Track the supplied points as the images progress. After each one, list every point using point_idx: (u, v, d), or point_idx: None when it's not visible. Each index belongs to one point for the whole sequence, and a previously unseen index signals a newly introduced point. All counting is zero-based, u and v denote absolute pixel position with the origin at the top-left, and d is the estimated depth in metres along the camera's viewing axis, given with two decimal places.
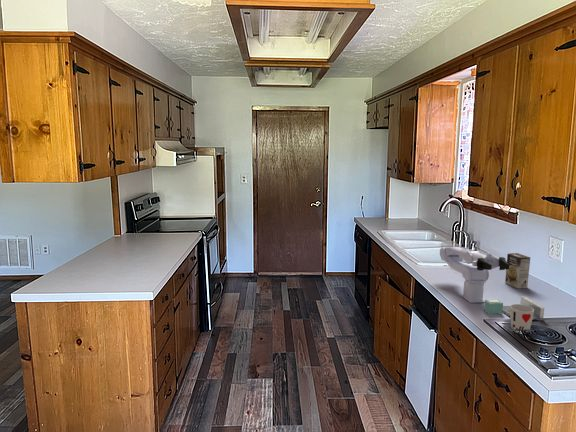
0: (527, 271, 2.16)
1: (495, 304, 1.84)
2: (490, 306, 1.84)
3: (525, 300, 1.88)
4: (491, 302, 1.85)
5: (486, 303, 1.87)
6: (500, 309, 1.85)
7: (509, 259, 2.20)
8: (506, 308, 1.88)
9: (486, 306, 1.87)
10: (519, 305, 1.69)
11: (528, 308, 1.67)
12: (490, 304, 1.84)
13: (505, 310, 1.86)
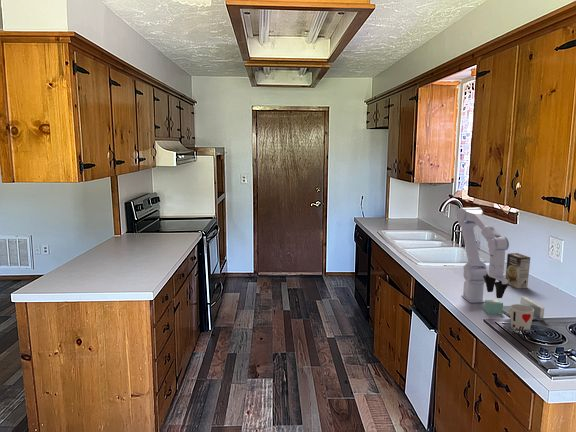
0: (527, 271, 2.16)
1: (495, 304, 1.84)
2: (490, 306, 1.84)
3: (525, 300, 1.88)
4: (491, 302, 1.85)
5: (486, 303, 1.87)
6: (500, 309, 1.85)
7: (509, 259, 2.20)
8: (506, 308, 1.88)
9: (486, 306, 1.87)
10: (519, 305, 1.69)
11: (528, 308, 1.67)
12: (490, 304, 1.84)
13: (505, 310, 1.86)
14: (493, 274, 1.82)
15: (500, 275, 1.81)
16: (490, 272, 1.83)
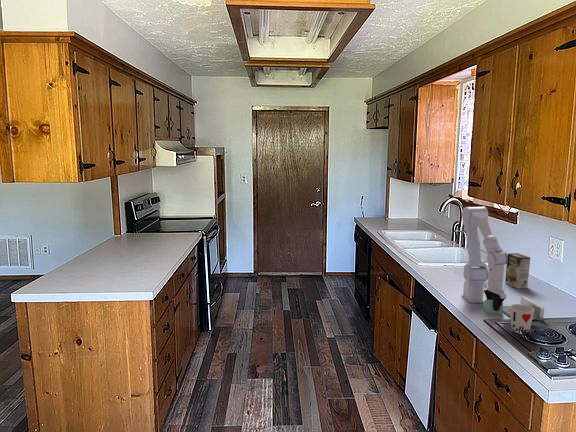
0: (527, 271, 2.16)
1: None
2: (490, 306, 1.84)
3: (525, 300, 1.88)
4: (491, 302, 1.85)
5: (486, 303, 1.87)
6: (500, 309, 1.85)
7: (509, 259, 2.20)
8: (506, 308, 1.88)
9: (486, 306, 1.87)
10: (519, 305, 1.69)
11: (528, 308, 1.67)
12: (490, 304, 1.84)
13: (505, 310, 1.86)
14: (492, 288, 1.83)
15: (499, 289, 1.82)
16: (489, 286, 1.84)
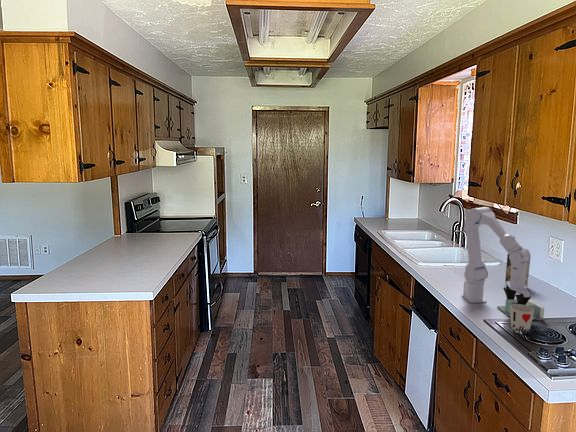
0: (527, 271, 2.16)
1: None
2: None
3: None
4: (512, 302, 1.82)
5: (507, 303, 1.84)
6: None
7: (509, 259, 2.20)
8: None
9: (507, 305, 1.84)
10: (519, 305, 1.69)
11: (528, 308, 1.67)
12: (512, 304, 1.81)
13: None
14: (514, 287, 1.80)
15: (522, 288, 1.80)
16: (511, 284, 1.82)
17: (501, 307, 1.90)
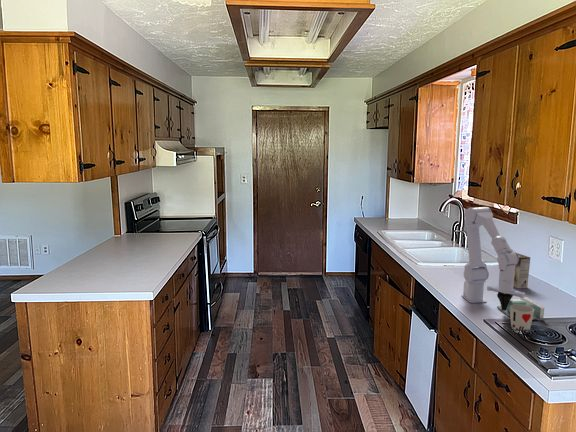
0: (527, 271, 2.16)
1: (518, 303, 1.82)
2: None
3: (525, 300, 1.88)
4: (514, 301, 1.82)
5: (509, 302, 1.84)
6: None
7: None
8: None
9: (509, 305, 1.84)
10: (519, 305, 1.69)
11: (528, 308, 1.67)
12: (514, 303, 1.82)
13: (505, 310, 1.86)
14: (508, 290, 1.79)
15: (513, 289, 1.81)
16: (504, 288, 1.80)
17: None
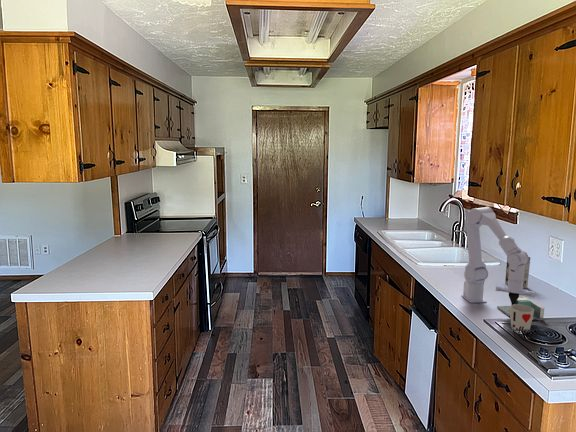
0: (527, 271, 2.16)
1: (524, 302, 1.83)
2: None
3: None
4: (519, 300, 1.84)
5: None
6: None
7: None
8: (506, 308, 1.88)
9: None
10: (519, 305, 1.69)
11: (528, 308, 1.67)
12: (519, 302, 1.83)
13: (505, 310, 1.86)
14: (519, 290, 1.80)
15: (522, 289, 1.82)
16: (515, 288, 1.80)
17: (501, 307, 1.90)
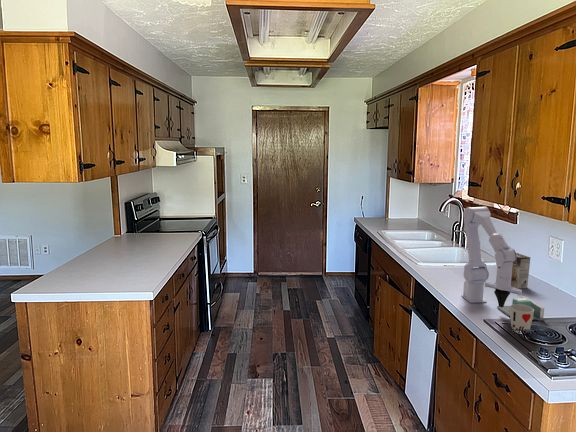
0: (527, 271, 2.16)
1: (524, 302, 1.83)
2: None
3: None
4: (520, 300, 1.83)
5: (514, 302, 1.85)
6: None
7: None
8: (506, 308, 1.88)
9: None
10: (519, 305, 1.69)
11: (528, 308, 1.67)
12: (519, 303, 1.82)
13: (505, 310, 1.86)
14: (505, 287, 1.80)
15: (510, 286, 1.81)
16: (501, 285, 1.80)
17: (501, 307, 1.90)
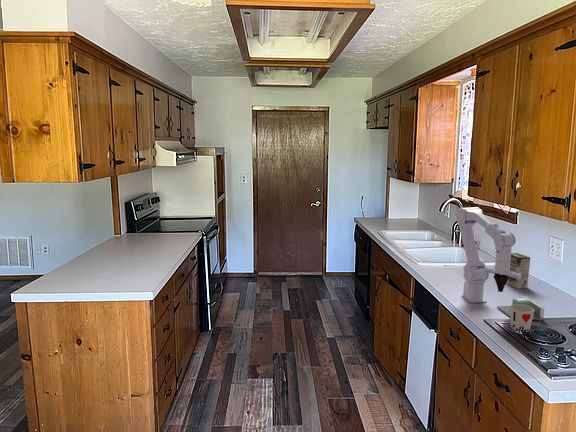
0: (527, 271, 2.16)
1: (524, 302, 1.83)
2: None
3: None
4: (520, 300, 1.83)
5: (514, 302, 1.85)
6: None
7: None
8: (506, 308, 1.88)
9: None
10: (519, 305, 1.69)
11: (528, 308, 1.67)
12: (519, 303, 1.82)
13: (505, 310, 1.86)
14: (504, 271, 1.80)
15: (509, 271, 1.81)
16: (500, 269, 1.81)
17: (501, 307, 1.90)
